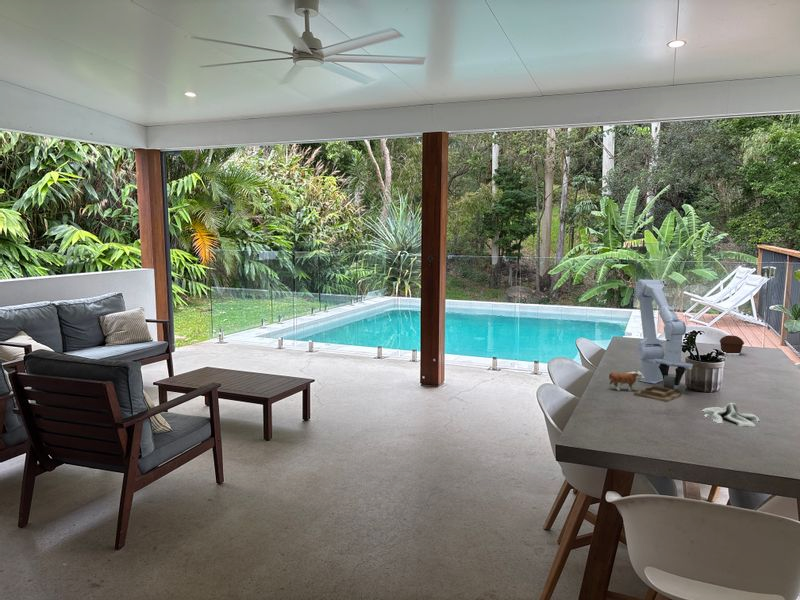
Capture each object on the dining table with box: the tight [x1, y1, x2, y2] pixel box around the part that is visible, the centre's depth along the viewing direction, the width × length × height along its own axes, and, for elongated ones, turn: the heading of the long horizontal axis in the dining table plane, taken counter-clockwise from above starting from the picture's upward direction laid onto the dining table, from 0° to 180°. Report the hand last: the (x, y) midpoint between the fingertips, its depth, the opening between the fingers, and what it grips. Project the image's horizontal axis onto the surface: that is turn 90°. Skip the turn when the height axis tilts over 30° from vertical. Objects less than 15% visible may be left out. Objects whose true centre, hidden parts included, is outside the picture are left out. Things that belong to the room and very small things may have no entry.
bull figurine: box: [608, 370, 644, 392], centre depth 233 cm, size 4×13×8 cm, turn 79°
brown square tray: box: [633, 385, 682, 403], centre depth 226 cm, size 13×13×2 cm
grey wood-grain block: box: [663, 373, 680, 391], centre depth 232 cm, size 5×4×5 cm
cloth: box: [701, 402, 761, 428], centre depth 197 cm, size 22×19×6 cm
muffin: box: [719, 334, 745, 353], centre depth 310 cm, size 12×11×10 cm
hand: (671, 383), depth 233 cm, fingers closed on grey wood-grain block, 4 cm apart
